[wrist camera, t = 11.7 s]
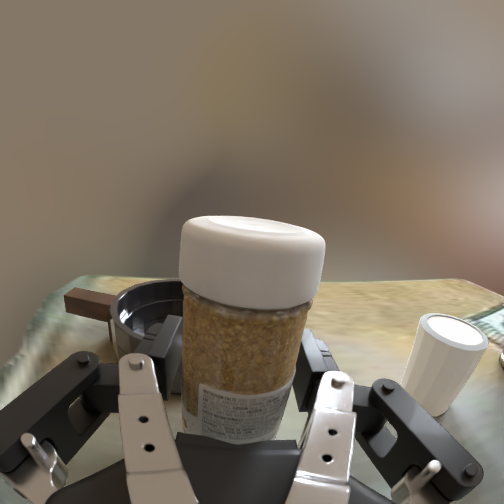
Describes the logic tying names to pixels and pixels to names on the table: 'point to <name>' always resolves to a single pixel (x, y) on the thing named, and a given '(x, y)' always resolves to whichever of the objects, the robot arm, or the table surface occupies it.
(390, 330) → the table surface
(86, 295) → the pan handle
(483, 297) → the table surface
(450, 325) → the white cup
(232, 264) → the sprinkles bottle
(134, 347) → the pan
